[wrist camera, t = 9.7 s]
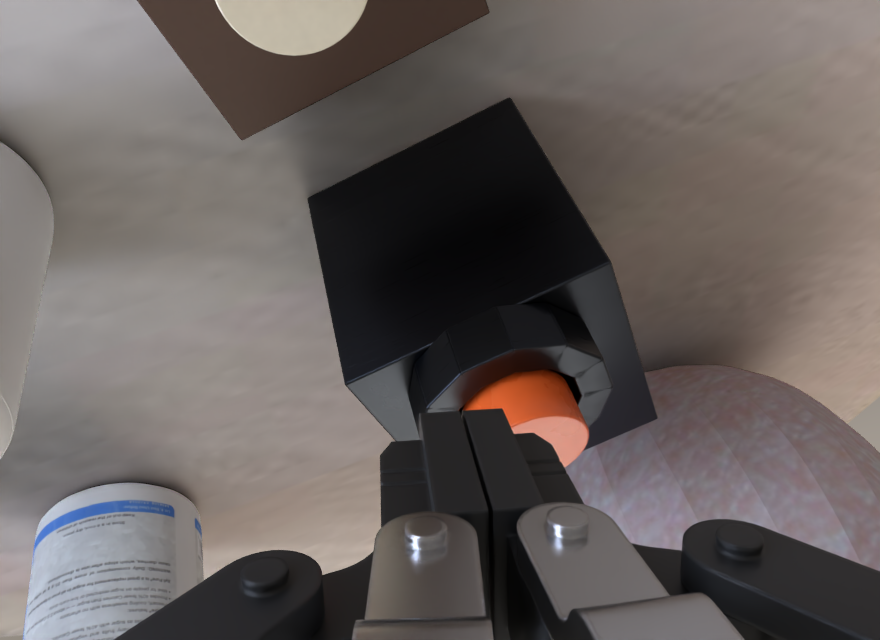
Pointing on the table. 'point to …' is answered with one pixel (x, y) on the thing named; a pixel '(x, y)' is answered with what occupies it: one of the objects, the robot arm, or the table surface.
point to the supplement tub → (111, 561)
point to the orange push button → (538, 409)
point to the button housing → (473, 281)
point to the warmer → (303, 76)
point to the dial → (292, 22)
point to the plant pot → (737, 465)
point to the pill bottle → (19, 276)
